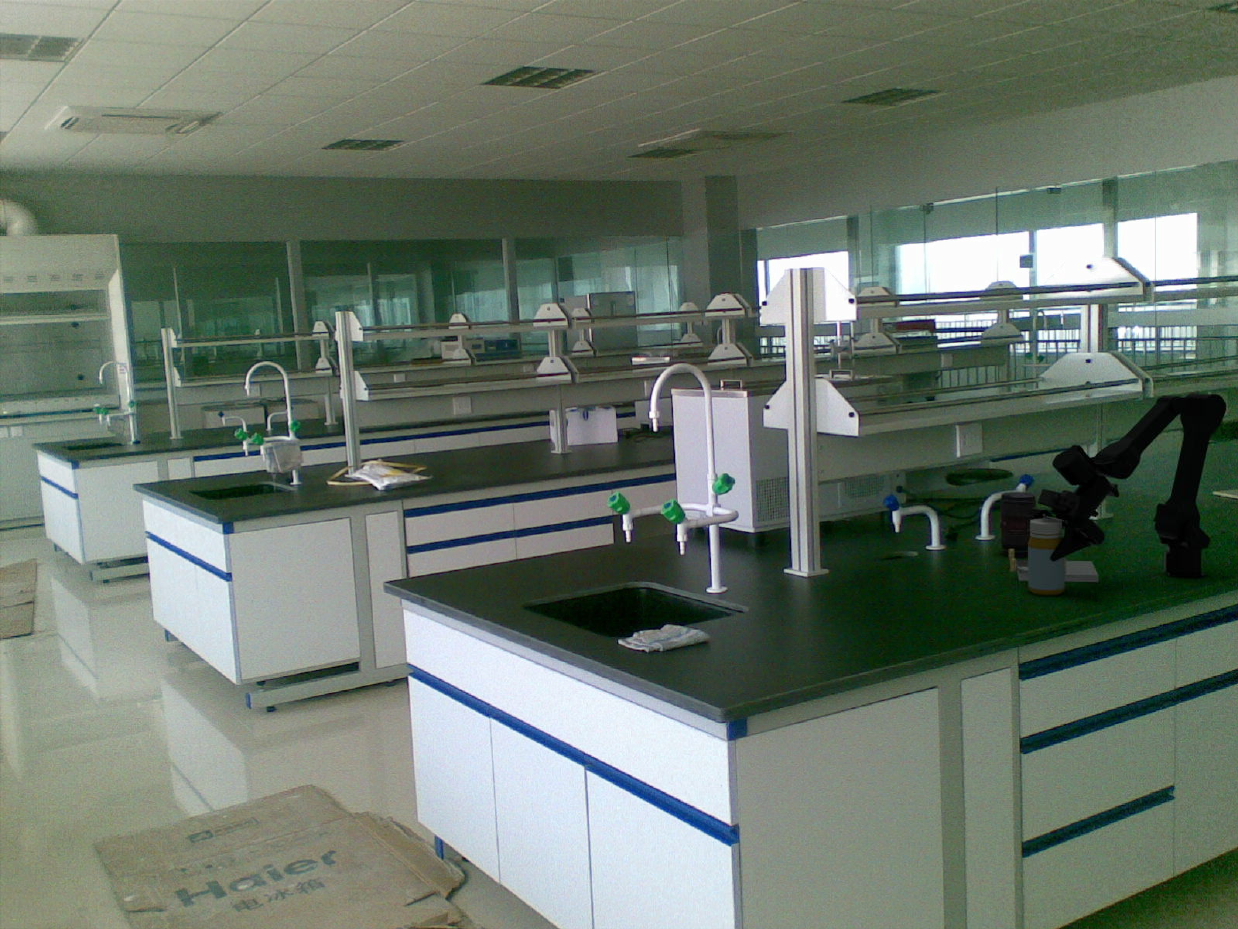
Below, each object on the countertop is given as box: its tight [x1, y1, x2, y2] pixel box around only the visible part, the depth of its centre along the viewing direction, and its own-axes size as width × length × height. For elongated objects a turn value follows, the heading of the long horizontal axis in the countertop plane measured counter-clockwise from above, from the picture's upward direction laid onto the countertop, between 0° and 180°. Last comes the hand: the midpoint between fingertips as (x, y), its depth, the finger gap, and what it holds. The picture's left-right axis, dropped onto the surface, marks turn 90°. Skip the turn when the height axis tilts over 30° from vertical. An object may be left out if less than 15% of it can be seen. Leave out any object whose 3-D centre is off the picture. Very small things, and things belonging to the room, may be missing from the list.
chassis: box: [1008, 549, 1099, 583], centre depth 241 cm, size 18×14×4 cm
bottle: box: [1027, 519, 1066, 596], centre depth 225 cm, size 7×7×15 cm
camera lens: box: [999, 491, 1037, 559], centre depth 261 cm, size 8×8×15 cm
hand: (1040, 557), depth 225 cm, fingers closed on bottle, 7 cm apart
